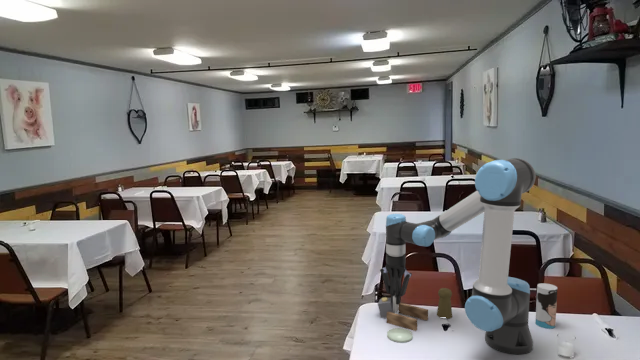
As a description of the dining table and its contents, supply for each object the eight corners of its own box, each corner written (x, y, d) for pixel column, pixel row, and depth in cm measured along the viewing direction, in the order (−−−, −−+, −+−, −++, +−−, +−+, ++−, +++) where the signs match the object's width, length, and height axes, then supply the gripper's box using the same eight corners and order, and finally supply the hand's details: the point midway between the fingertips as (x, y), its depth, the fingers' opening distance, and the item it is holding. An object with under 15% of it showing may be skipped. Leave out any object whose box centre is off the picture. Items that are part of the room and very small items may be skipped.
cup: (549, 330, 156) (552, 291, 155) (531, 323, 162) (533, 285, 160) (558, 325, 160) (560, 287, 159) (540, 319, 166) (542, 282, 164)
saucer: (416, 334, 154) (416, 332, 154) (406, 345, 147) (406, 342, 147) (394, 328, 160) (394, 325, 159) (382, 337, 152) (382, 335, 152)
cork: (453, 319, 166) (453, 292, 165) (437, 318, 168) (437, 291, 166) (451, 312, 172) (452, 286, 171) (436, 311, 174) (436, 285, 172)
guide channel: (428, 319, 167) (428, 309, 166) (415, 331, 157) (415, 320, 157) (400, 311, 174) (400, 302, 173) (386, 322, 164) (386, 312, 164)
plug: (395, 312, 172) (391, 295, 171) (393, 317, 167) (389, 300, 167) (383, 313, 173) (379, 296, 173) (380, 318, 169) (377, 301, 168)
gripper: (414, 253, 165) (414, 311, 168) (385, 248, 172) (385, 304, 175) (406, 259, 159) (406, 318, 162) (376, 253, 166) (377, 310, 169)
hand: (395, 311), depth 169 cm, fingers closed
